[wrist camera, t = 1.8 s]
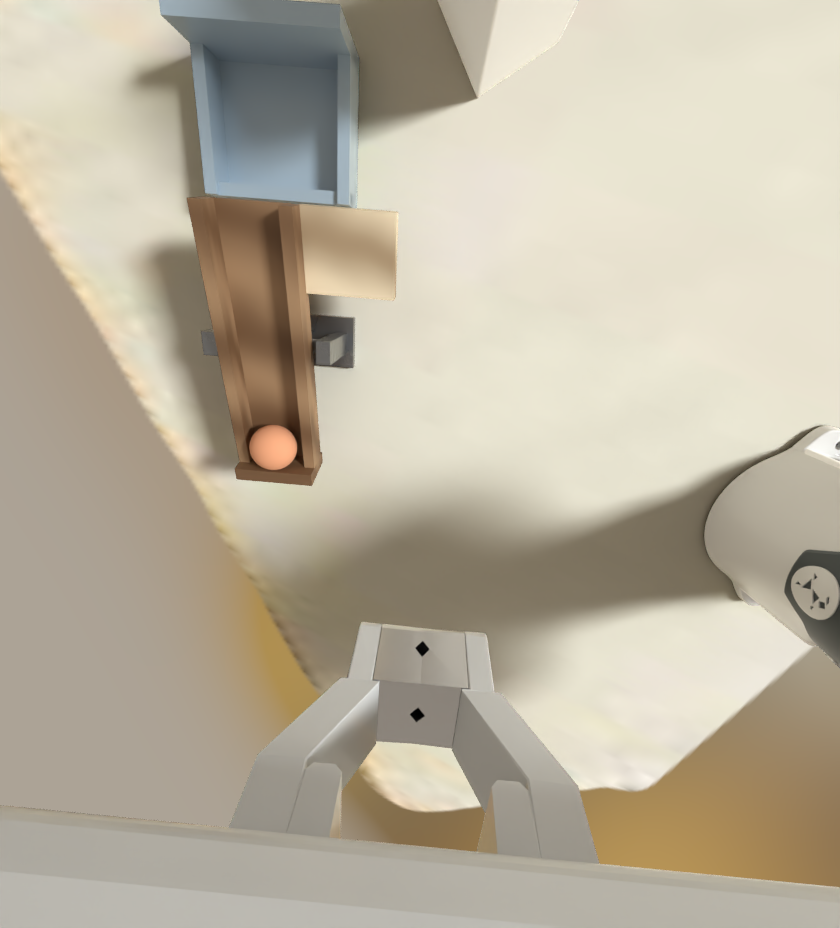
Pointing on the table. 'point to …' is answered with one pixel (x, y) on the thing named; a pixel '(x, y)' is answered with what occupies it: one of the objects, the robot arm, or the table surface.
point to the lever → (283, 307)
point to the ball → (273, 447)
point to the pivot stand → (330, 347)
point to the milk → (503, 34)
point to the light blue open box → (273, 98)
